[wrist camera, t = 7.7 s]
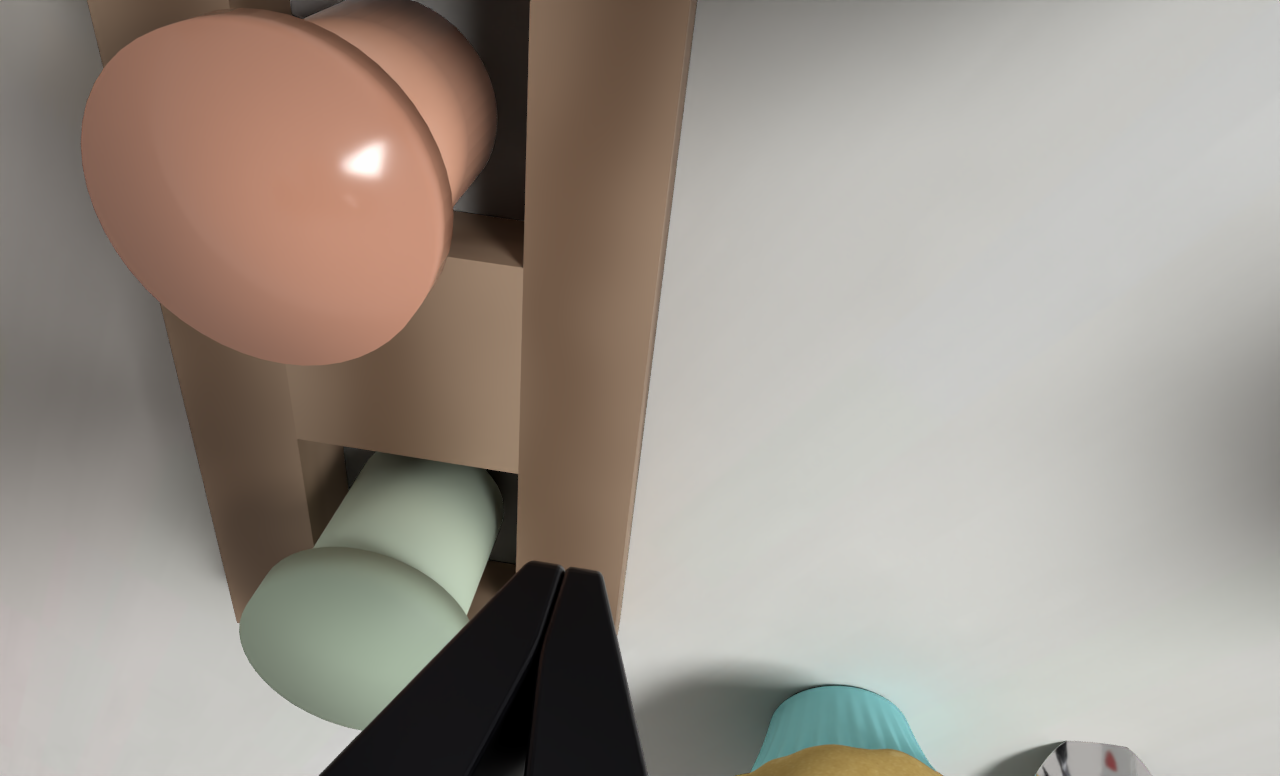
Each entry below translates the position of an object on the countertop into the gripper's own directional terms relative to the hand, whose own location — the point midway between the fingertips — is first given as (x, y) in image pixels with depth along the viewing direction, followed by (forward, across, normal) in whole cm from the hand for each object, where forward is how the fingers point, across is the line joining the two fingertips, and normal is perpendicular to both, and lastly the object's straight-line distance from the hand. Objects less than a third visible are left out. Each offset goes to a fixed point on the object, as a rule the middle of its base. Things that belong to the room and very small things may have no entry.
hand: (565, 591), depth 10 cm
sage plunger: (+12, +6, +11) cm, 17 cm away
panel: (+13, +6, +4) cm, 15 cm away
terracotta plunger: (+11, +6, -1) cm, 13 cm away
